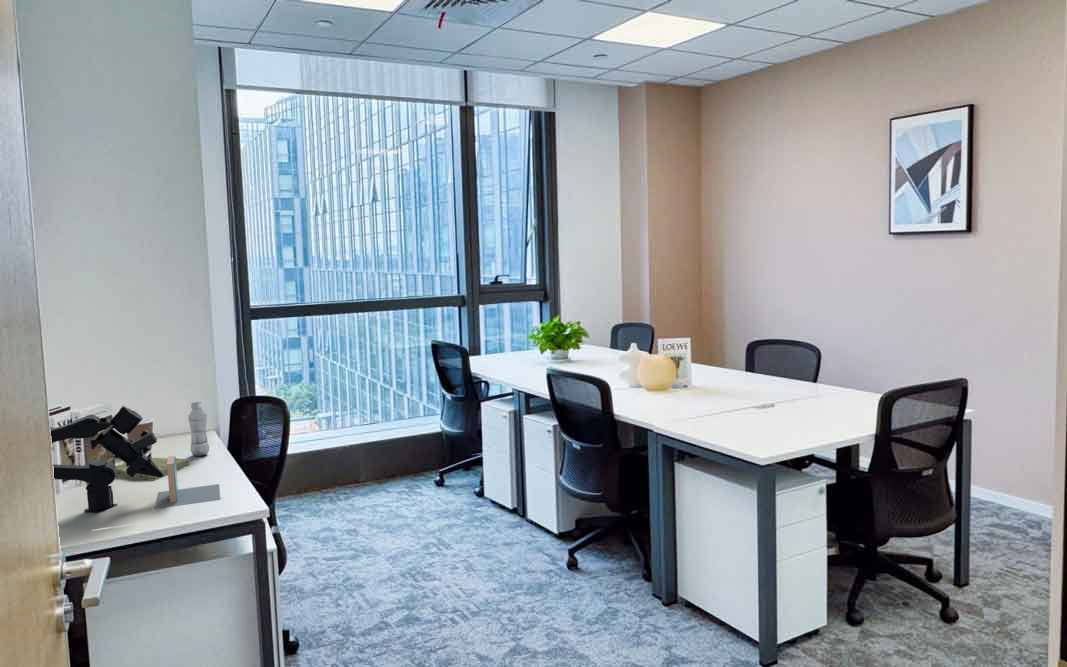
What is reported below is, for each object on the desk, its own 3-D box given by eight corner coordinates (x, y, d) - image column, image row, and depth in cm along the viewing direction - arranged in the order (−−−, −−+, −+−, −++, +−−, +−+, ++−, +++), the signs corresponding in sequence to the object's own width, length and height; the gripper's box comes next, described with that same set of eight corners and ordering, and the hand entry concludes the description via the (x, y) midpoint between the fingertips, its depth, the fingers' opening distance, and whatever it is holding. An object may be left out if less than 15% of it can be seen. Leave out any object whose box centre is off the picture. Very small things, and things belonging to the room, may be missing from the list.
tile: (170, 502, 236) (166, 464, 235) (171, 493, 245) (168, 456, 244) (177, 501, 237) (174, 463, 236) (178, 492, 246) (175, 455, 245)
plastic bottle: (203, 452, 298) (199, 400, 296) (213, 454, 294) (209, 402, 292) (187, 456, 293) (183, 403, 291) (197, 458, 289) (193, 405, 287)
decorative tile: (141, 465, 285) (141, 455, 284) (190, 466, 280) (189, 456, 280) (104, 480, 267) (103, 469, 266) (155, 481, 262) (154, 471, 262)
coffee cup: (137, 448, 308) (135, 418, 307) (161, 448, 307) (159, 418, 306) (120, 455, 298) (117, 424, 297) (145, 455, 297) (142, 424, 296)
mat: (154, 510, 231) (154, 508, 231) (158, 493, 247) (158, 492, 247) (220, 500, 238) (220, 499, 238) (219, 485, 254) (219, 483, 254)
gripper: (135, 430, 227) (180, 462, 232) (140, 418, 244) (182, 448, 249) (107, 461, 225) (153, 492, 230) (114, 446, 242) (157, 476, 247)
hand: (162, 476), depth 239 cm, fingers closed
